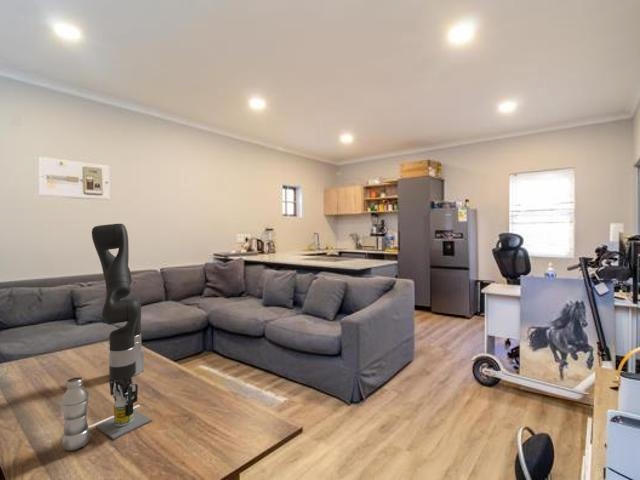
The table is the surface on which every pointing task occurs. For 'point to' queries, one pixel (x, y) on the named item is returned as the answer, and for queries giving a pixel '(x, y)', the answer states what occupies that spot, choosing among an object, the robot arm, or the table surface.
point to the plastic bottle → (75, 415)
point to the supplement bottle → (121, 412)
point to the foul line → (108, 419)
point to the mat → (118, 431)
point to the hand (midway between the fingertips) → (123, 411)
